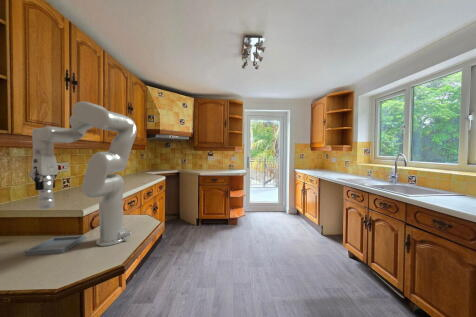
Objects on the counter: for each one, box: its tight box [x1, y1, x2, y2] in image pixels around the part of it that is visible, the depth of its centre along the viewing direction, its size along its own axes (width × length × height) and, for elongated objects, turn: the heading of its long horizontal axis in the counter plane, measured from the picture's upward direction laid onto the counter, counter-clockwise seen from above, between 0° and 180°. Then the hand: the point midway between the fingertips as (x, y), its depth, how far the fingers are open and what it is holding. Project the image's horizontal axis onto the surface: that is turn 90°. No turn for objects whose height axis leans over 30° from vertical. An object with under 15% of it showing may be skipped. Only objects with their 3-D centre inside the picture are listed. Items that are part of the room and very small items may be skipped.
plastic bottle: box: [36, 175, 56, 210], centre depth 102 cm, size 6×7×20 cm
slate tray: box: [23, 235, 87, 257], centre depth 91 cm, size 15×15×2 cm
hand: (45, 188), depth 102 cm, fingers closed on plastic bottle, 6 cm apart
